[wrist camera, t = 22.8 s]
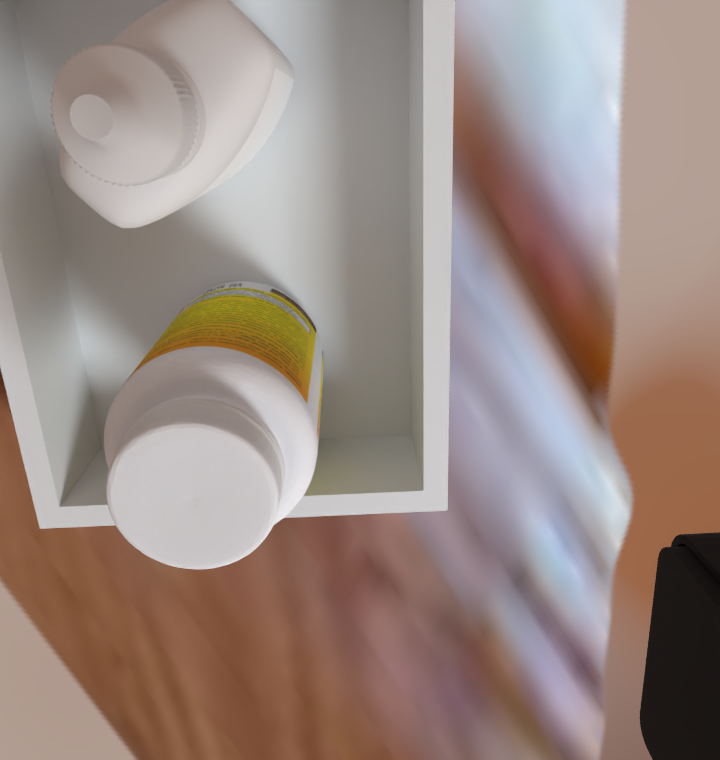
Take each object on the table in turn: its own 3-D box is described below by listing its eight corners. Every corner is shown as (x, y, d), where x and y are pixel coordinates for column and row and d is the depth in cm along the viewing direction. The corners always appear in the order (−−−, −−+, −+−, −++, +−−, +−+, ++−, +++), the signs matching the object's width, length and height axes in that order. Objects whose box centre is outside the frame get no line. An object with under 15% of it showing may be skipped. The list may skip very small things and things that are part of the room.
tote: (429, 442, 27) (447, 510, 23) (91, 457, 27) (39, 528, 23) (431, -69, 21) (456, -119, 16) (-13, -53, 21) (-115, -100, 16)
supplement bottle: (153, 290, 24) (31, 408, 15) (308, 264, 24) (287, 367, 14) (193, 431, 26) (108, 614, 17) (336, 408, 26) (333, 580, 16)
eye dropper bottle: (321, 156, 23) (302, 200, 11) (162, 206, 23) (-5, 295, 12) (278, 13, 21) (207, -97, 10) (108, 70, 21) (-143, 24, 10)
